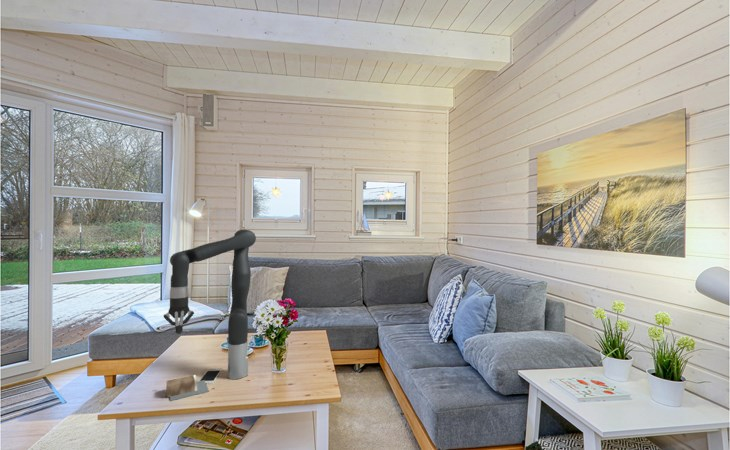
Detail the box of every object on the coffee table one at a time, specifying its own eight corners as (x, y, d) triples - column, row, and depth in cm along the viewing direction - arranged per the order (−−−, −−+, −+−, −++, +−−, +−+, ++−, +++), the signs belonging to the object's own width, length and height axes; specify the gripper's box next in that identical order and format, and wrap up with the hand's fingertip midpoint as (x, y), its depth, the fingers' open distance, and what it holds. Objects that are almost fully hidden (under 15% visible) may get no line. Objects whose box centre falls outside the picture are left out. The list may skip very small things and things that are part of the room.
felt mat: (204, 380, 166) (204, 379, 166) (208, 391, 155) (208, 390, 155) (168, 388, 158) (168, 387, 158) (170, 401, 147) (170, 400, 147)
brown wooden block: (166, 391, 154) (195, 385, 161) (167, 397, 149) (197, 390, 156) (166, 380, 154) (195, 374, 161) (167, 386, 149) (197, 379, 156)
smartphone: (197, 385, 163) (197, 383, 163) (208, 371, 178) (208, 369, 178) (212, 384, 164) (212, 382, 164) (222, 370, 179) (222, 368, 179)
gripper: (194, 293, 162) (193, 328, 162) (162, 296, 154) (161, 333, 154) (196, 295, 155) (195, 333, 155) (162, 299, 148) (162, 338, 148)
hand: (178, 333), depth 155 cm, fingers closed
